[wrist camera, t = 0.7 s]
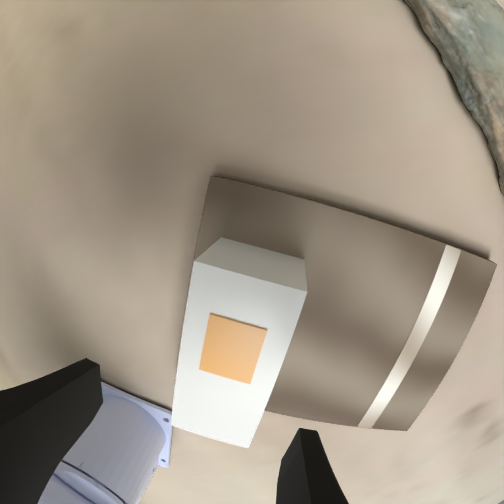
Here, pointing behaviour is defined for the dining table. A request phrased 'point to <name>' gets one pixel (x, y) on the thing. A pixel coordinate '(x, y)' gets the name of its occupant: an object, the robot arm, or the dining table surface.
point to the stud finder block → (235, 338)
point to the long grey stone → (472, 59)
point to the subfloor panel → (356, 304)
